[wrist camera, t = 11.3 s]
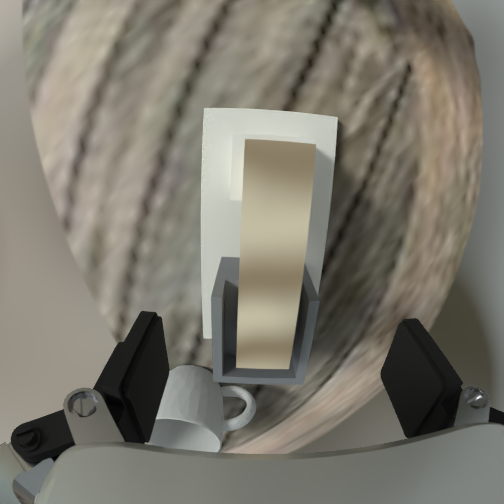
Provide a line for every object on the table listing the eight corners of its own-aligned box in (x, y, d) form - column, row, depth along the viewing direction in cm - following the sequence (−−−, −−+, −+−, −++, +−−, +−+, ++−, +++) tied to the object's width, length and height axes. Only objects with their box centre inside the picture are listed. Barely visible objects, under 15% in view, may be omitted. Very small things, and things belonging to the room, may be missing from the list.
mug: (173, 402, 38) (159, 457, 29) (152, 357, 35) (129, 415, 26) (260, 398, 37) (261, 457, 28) (250, 350, 34) (249, 415, 25)
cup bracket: (205, 109, 25) (184, 93, 16) (334, 118, 25) (370, 108, 17) (204, 333, 33) (192, 388, 25) (308, 337, 33) (321, 392, 25)
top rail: (246, 140, 20) (244, 138, 16) (301, 144, 20) (316, 144, 16) (238, 330, 26) (236, 367, 21) (283, 331, 26) (288, 369, 21)
